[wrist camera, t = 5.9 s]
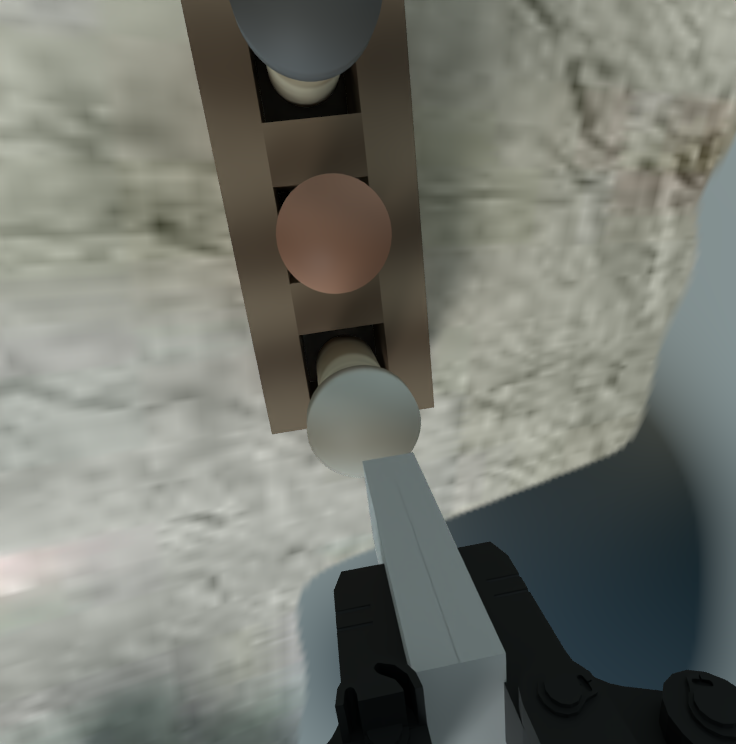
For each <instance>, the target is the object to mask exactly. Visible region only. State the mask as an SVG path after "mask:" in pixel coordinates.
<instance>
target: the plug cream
mask: <svg viewBox="0 0 736 744" xmlns="http://www.w3.org/2000/svg"><path fill="white" fill-rule="evenodd" d="M316 369H317V378H318V387H317V389H316V390H315V392H314V393H313V395H312V397H311V399H310V402H309V405H308V410H307V434H308V440H309V444H310V446H311V448H312V451H313V452H314V454H315V456H316V457H317V458H318V459H319V460H320V461H321V462H322V463H323V464H324V465H325V466H326V467H328V468H329V469H331V470H332V471H334V472H336V473H339V474H342V475H345V476H349V477H365V476H364V469H363V462H362V461H366V460H372V459H378V458H383V457H389V456H395V455H401V454H407V453H410V452H411V451H412V450H413V448H414V446H415V444H416V442H417V440H418V437H419V433H420V427H421V417H420V411H419V408H418V405H417V403H416V401H415V399H414V397H413V395H412V394H411V392H410V391H409V389H408V387H407V386H406V384H405V383H404V382H403V381H402V380H401V379H400V378H399V377H398V376H396V375H395V374H393V373H392V372H390V371H388V370H386V369H384V368H381V367H380V365H379V363H378V362H377V360H376V358H375V356H374V354H373V352H372V350H371V348H370V347H369V345H368V344H367V343H366V342H365V341H363V340H362V339H360V338H358V337H355V336H351V335H341V336H337V337H334V338H332V339H330V340H329V341H327V342H326V343H325V344H324V345H323V346H322V347H321V349H320V351H319V353H318V355H317V359H316Z"/></svg>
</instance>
